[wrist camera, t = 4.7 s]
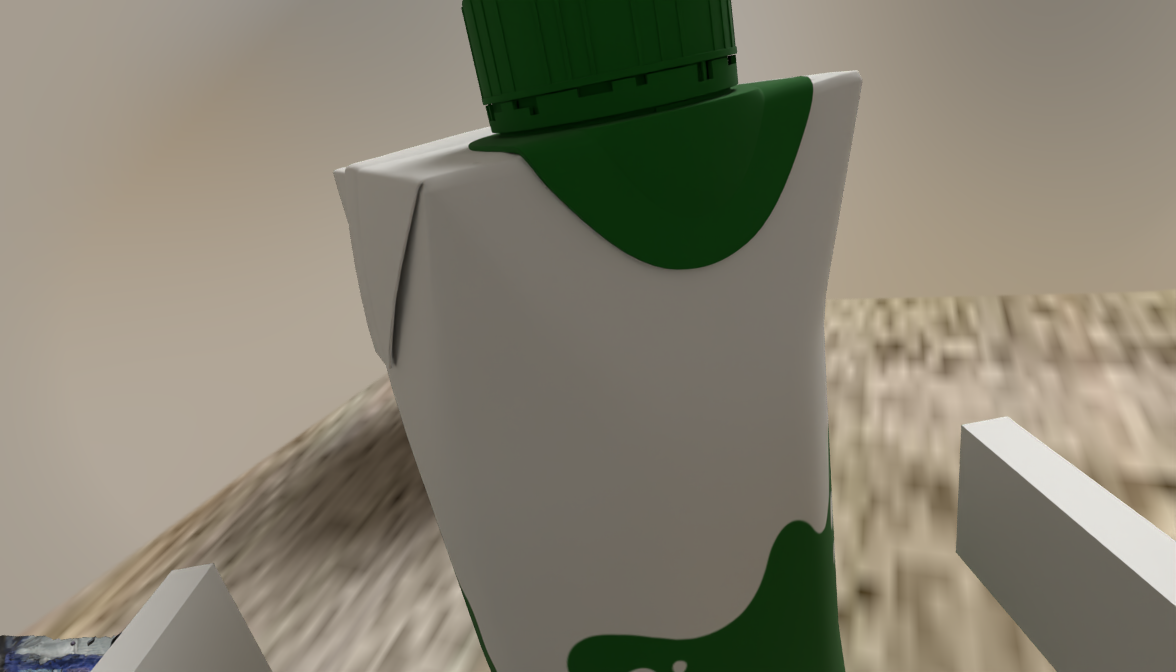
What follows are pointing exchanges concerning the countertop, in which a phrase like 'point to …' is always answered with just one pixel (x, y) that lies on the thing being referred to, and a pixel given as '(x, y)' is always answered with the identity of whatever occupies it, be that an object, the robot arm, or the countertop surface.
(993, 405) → the countertop surface
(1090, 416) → the countertop surface
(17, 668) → the snack package
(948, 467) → the countertop surface
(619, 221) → the milk carton
